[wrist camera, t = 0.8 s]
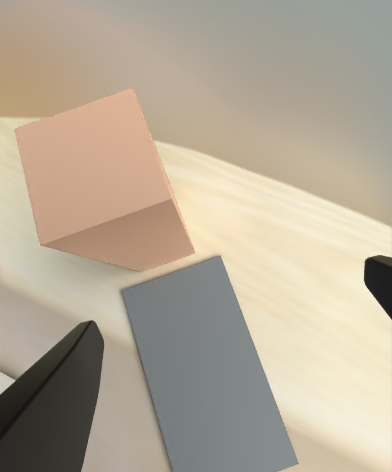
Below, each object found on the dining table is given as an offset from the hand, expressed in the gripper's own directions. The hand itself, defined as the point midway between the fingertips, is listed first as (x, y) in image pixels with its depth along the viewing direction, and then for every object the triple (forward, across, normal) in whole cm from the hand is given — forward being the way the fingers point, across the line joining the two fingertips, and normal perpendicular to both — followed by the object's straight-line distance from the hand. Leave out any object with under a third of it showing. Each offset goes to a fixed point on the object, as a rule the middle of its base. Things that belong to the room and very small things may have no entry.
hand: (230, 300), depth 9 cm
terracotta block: (+15, +4, +3) cm, 16 cm away
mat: (+8, +3, +13) cm, 15 cm away
